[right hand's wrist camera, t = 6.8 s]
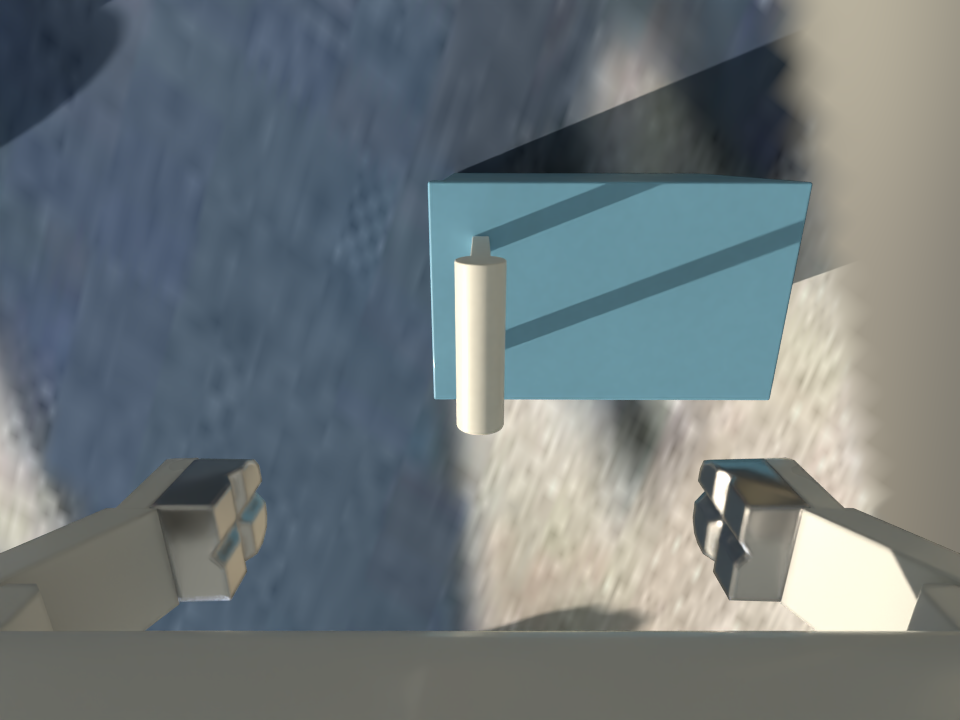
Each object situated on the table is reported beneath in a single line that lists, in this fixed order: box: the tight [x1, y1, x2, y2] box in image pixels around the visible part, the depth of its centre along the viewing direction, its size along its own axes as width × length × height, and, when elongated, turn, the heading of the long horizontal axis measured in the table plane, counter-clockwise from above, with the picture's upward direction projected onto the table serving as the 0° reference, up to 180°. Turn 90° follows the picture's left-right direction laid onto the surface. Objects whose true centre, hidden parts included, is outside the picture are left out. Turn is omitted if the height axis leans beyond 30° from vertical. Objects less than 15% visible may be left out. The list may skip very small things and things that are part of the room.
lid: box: [428, 180, 812, 435], centre depth 21 cm, size 16×10×8 cm, turn 90°
